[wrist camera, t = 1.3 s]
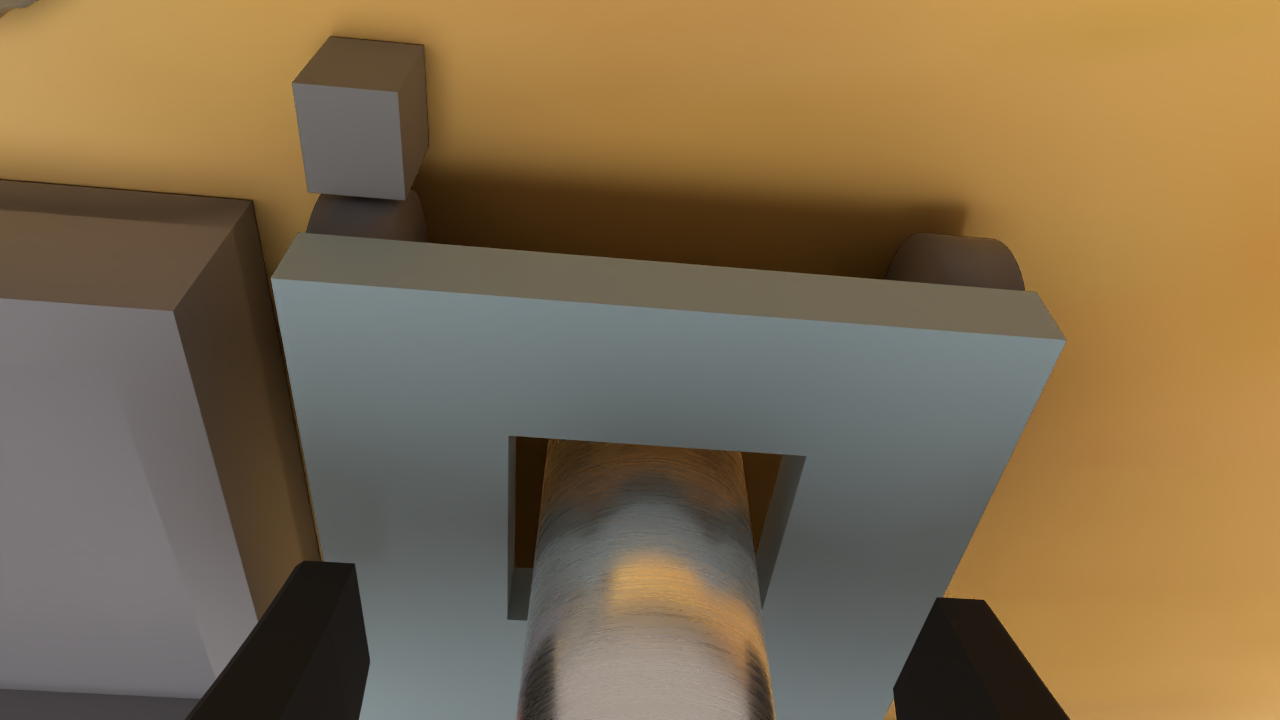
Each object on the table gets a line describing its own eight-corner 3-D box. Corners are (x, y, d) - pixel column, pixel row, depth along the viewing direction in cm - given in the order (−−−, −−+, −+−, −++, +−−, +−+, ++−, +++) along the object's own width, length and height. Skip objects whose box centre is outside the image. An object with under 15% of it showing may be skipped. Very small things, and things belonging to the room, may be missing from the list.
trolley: (806, 672, 20) (868, 1048, 15) (401, 650, 20) (309, 1032, 14) (1014, 100, 12) (1330, 470, 7) (329, 36, 12) (47, 380, 6)
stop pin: (719, 459, 16) (782, 1078, 9) (549, 448, 16) (478, 1071, 9) (749, 320, 14) (857, 965, 7) (555, 305, 14) (472, 952, 7)
